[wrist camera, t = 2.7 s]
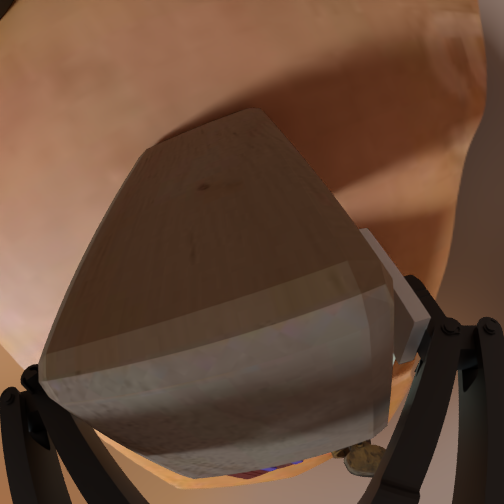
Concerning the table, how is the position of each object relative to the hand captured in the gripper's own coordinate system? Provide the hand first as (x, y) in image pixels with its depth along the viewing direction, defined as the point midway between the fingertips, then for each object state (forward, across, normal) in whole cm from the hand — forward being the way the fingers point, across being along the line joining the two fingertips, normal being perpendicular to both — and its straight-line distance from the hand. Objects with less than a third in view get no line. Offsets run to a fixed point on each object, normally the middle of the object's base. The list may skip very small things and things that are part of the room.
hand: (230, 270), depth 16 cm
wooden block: (+11, 0, 0) cm, 11 cm away
